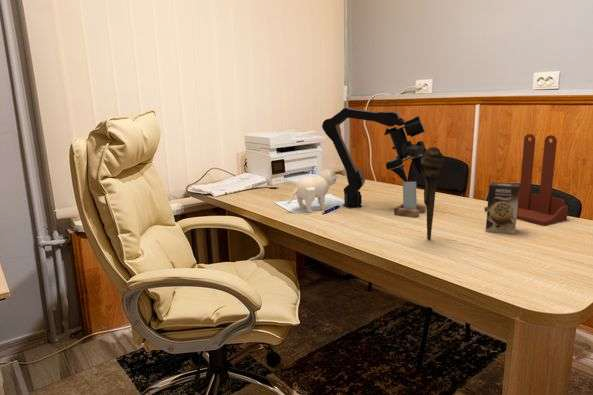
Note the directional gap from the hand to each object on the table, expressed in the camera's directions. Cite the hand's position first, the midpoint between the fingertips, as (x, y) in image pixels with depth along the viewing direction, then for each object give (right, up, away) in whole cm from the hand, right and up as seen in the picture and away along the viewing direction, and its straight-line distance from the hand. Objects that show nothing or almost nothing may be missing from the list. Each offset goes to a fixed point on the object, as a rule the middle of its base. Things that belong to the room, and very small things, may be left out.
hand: (413, 177), depth 171 cm
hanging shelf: (+38, -15, -11) cm, 43 cm away
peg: (-2, -14, -3) cm, 14 cm away
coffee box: (+22, -19, -27) cm, 40 cm away
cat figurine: (-40, -13, +9) cm, 43 cm away
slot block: (-2, -14, -3) cm, 15 cm away
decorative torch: (-4, -22, -34) cm, 40 cm away
